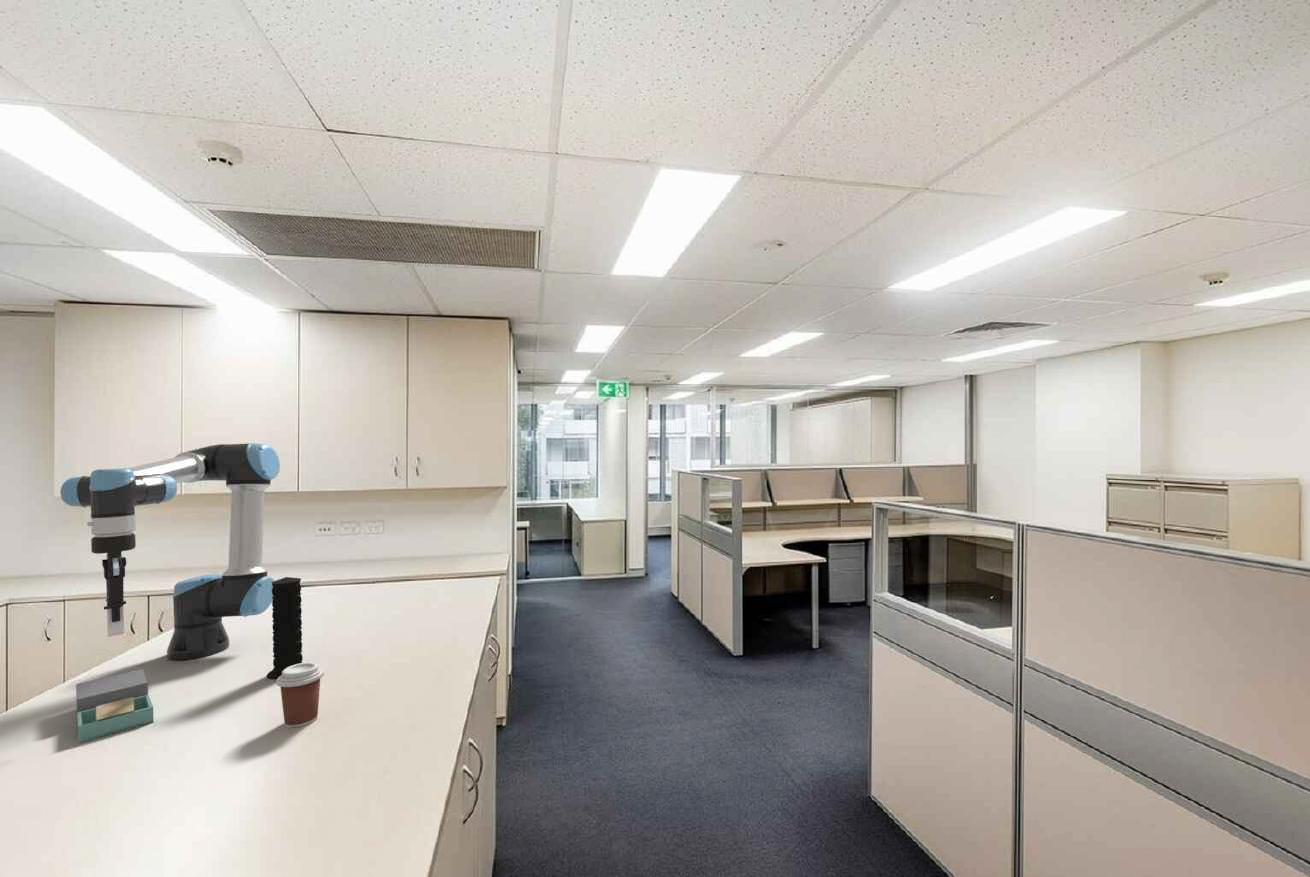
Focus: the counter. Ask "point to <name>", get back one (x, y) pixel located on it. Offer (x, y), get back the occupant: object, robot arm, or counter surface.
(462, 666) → the counter surface
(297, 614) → the black ridged tower
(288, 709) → the coffee cup
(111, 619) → the robot arm
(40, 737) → the counter surface
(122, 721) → the box
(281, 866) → the counter surface
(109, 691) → the gray rectangular block
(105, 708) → the tile
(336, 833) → the counter surface
